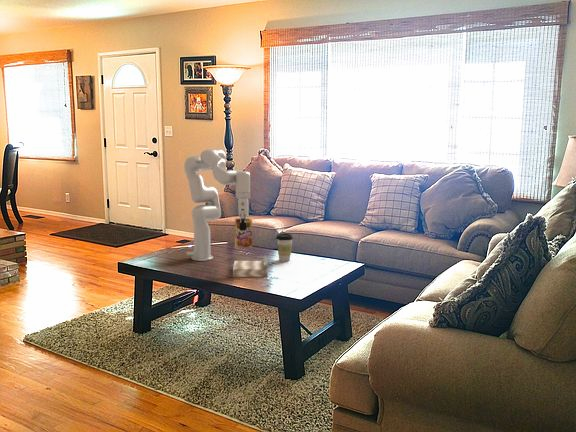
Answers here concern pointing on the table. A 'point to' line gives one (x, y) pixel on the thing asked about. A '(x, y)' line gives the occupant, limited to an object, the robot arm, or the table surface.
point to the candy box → (243, 234)
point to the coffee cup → (284, 246)
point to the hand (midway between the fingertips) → (243, 228)
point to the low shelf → (250, 268)
